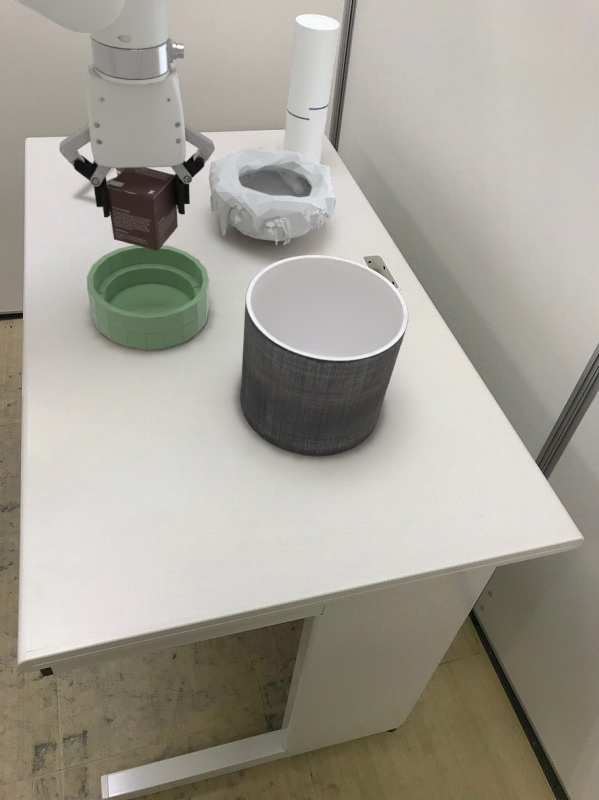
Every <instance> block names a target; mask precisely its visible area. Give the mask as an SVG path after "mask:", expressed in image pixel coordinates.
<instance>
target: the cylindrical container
mask: <svg viewBox="0 0 599 800" xmlns="http://www.w3.org/2000/svg"><path fill="white" fill-rule="evenodd" d="M340 25H341V24H340V22H339V21H338V20H336V19H334V18H332V17H330V16H327V15H322V14H318V13H317V14H315V13H306V14H305V13H304V14H300V15H297V16H296V17H295V23H294V32H293V33H294V34H293V44H292V52H291V53H292V54H291V65H290V74H289V84H288V85H289V86H288V94H287V105H286V115H285V126H284V136H283V147H282V151H292V152H298V153H301V154H303V155H305V156H307V157H309V158H310V159H312V160H314V161H316V162H318V163H320V164H321V159H322V152H323V145H324V139H325V132H326V124H327V118H328V112H329V102H330V97H331V90H332V83H333V76H334V69H335V61H336V54H337V48H338V41H339V35H340V34H339V33H340Z"/></svg>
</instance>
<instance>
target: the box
mask: <svg viewBox="0 0 599 800" xmlns="http://www.w3.org/2000/svg"><path fill="white" fill-rule="evenodd" d="M115 177H116V178H115ZM115 177H114V178H115V179H114V180H112V181H111V182H110V183H109V184H108V186H107V193H108V201H109V208H110V223H111V230H112V236H113V240H115V241H118V242H123V243H125V244H130V245H137V246H141V247H144V248H148V249H152V250H155V251H158V250H159V249H160V248H161V247H162V245H164V244H165V243H166V242H167V240H168V239H170V237H171V236H172V235H173V233H175V231H176V230H177V229H178V227H179V225H178V224H179V223H178V208H177V201H176V178H175V174H172V173H168V172H166V171H165V172H164V171H161V170H157V169H153V168H151V167H145V168H125V169H124V170H123V171H122V172H121V173H120V174H119V175H118V176H117V175H116V176H115Z"/></svg>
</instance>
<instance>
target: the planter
mask: <svg viewBox="0 0 599 800" xmlns="http://www.w3.org/2000/svg"><path fill="white" fill-rule="evenodd" d="M244 303H245V305H244V318H243V319H244V320H243V322H244V323H243V339H242V340H243V341H242V362H241V379H240V380H241V383H240V391H239V403H240V408H241V410H242V412H243V416H244V417H245V420H246V421H247V422H248V424H249V425H250V426H251V428H252V429H253V430H254V431H255V432H256V433H257V434H258V435H259V436H261V437H262V438H263V439H265V440H266V441H267V442H269V443H271V444H273V445H274V446H277V447H279V448H281V449H285V450H286V451H290V452H292V453H297V454H303V455H313V456H324V455H333V454H337V453H342V452H344V451H347V450H349V449H352V448H354V447H356V446H357V445H359V444H360V443H362V442H363V441H364V440H366V439H367V438H368V437H369V436H370V435H371V434H372V432H373V431H374V430H375V428H376V426H377V424H378V421H379V418H380V414H381V409H382V407H383V403H384V400H385V397H386V394H387V391H388V387H389V384H390V382H391V378H392V375H393V372H394V369H395V366H396V363H397V362H396V361H397V359H398V356H399V353H400V350H401V348H402V347H401V346H402V343H403V341H404V337H405V335H406V330H407V327H408V324H409V309H408V306H407V303H406V300H405V298H404V297H403V295H402V294H401V292H400V291H399V289H398V288H397V287H396V286H395V285H394V284H393V283H392V282H391V281H390V280H389V279H387V278H386V277H385V276H384V275H382V274H380V273H379V272H377V271H376V270H375V269H373V268H370V267H368V266H366V265H364V264H362V263H359V262H357V261H353V260H350V259H347V258H342V257H338V256H332V255H323V254H322V255H321V254H307V255H296V256H291V257H286V258H284V259H280V260H277V261H275V262H273V263H271V264H269V265H267V266H265V267H264V268H262V269H261V270H260V271H258V272H257V274H256V275H255V276H254V277H253V278H252V279H251V280H250V282H249V284H248V286H247V289H246V292H245V302H244Z"/></svg>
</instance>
